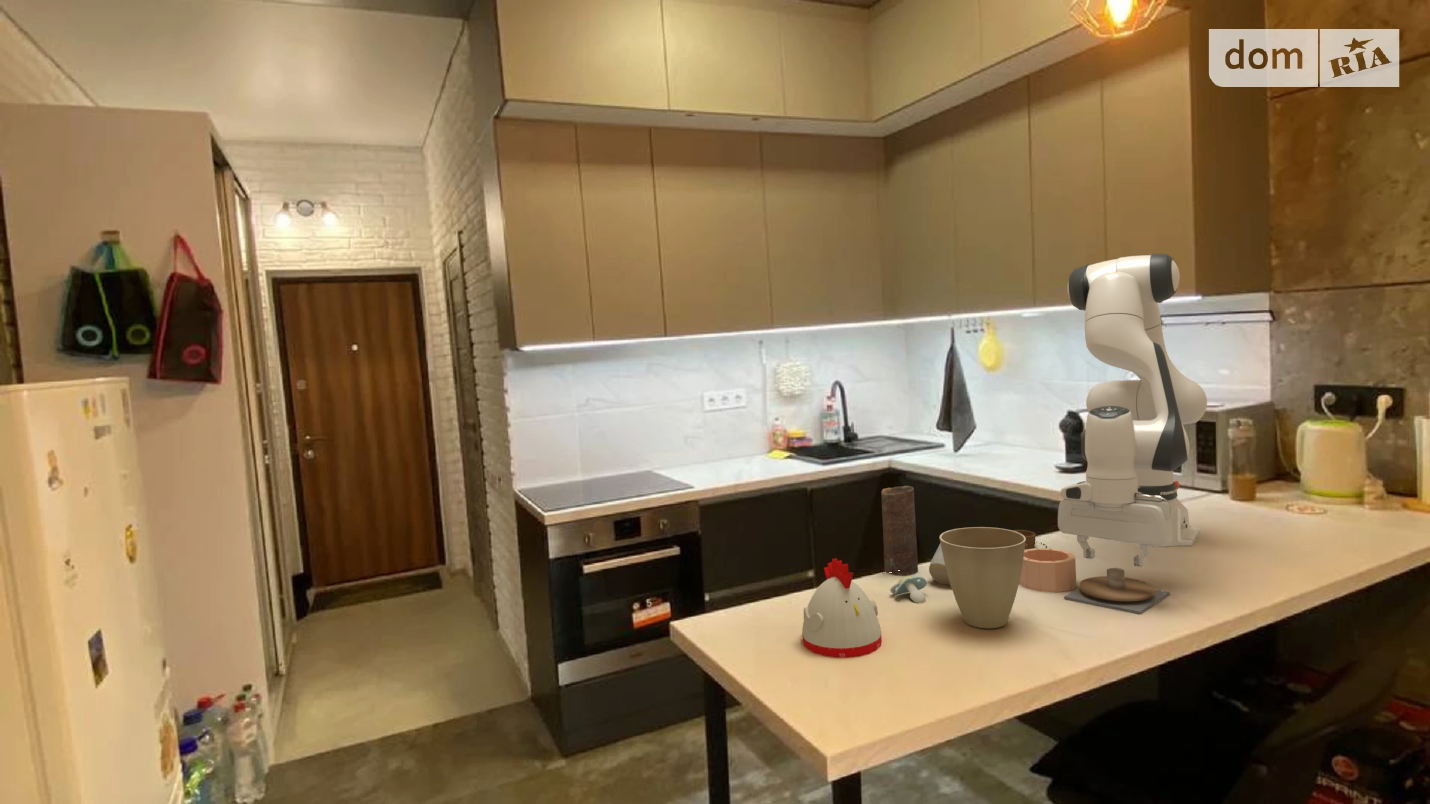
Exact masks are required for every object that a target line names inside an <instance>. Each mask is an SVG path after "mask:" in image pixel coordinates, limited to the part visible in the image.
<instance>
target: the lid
mask: <svg viewBox="0 0 1430 804" xmlns="http://www.w3.org/2000/svg"><path fill="white" fill-rule="evenodd" d="M1125 576H1126V575H1125V570H1124V569H1122V568H1121V567H1120V568H1117V567H1109V568H1107V569H1106V576H1102V575H1101V576H1094V577H1089V578H1085V579H1083V580H1081V581H1079V587H1078V588H1080V590H1081V591H1082V592H1083V593H1084V594H1086V595H1089V596H1092V597H1095V598H1099V599H1105V600H1112V601H1140V600H1146V599H1149V598H1151V597H1153V596H1154V595H1155V590H1156V589H1155V587H1154V586H1153V585H1152V584H1150V583H1148V582H1146V581H1144V580H1141V579H1136V578H1130V577H1125Z"/></svg>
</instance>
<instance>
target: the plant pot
mask: <svg viewBox="0 0 1430 804" xmlns="http://www.w3.org/2000/svg"><path fill="white" fill-rule="evenodd" d="M939 542H940V543H941V548H942V553H943V558H944V563H945V567H946V571H947V574H948V578H949V581H950V584H951V585H950V588H951V590H952V593H953V595H954V599H955V602H956V604H957V606H958V610H959V612H960V613H961V615H962V618H963V620H964V622H965V623H966V624H967V625H969V626H970V627H971V626H972V627H974V628H980V629H997V628H1001V627H1004V626H1006V624H1007V623H1008V620H1009V618H1010V615H1011V611H1012V609H1013V605H1014V603H1015V599H1016V598H1017V597H1016V596H1017V591H1018V588H1019V585H1020V584H1019V581H1020V576H1021V571H1022V565H1023V558H1024V550H1025V542H1026V538H1025V536H1024V535H1022V534H1020V533H1018V532H1015V531H1012V530H1011V529H1006V528H999V527H987V526H986V527H985V526H977V527H976V526H974V527H972V526H971V527H962V528H959V527H958V528H954V529H950V530H946V531H944V532H942V533H941V534H940V535H939ZM940 543H939V544H940Z"/></svg>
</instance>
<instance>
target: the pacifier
mask: <svg viewBox="0 0 1430 804" xmlns="http://www.w3.org/2000/svg"><path fill="white" fill-rule="evenodd" d="M927 584H928V583H927V580H926V579H925V578H924V577H923V576H919V575H917V576H911V575H907V576H904V577H902V578H901V579H899V580H898V582H897V583H895V584H894V585H892V586H891V588H890V589H889V591H890V593H891V594H895V595H901V594H905V593H909V598H910V599H911V600H912V601H913V602H915V603H917V604H923V603H924V604H925V602H926V601H927V600H926V596H925V594H924V593H923V592H922V591H921V590H922V589H923V588H925V587H926V586H927Z"/></svg>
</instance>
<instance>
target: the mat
mask: <svg viewBox="0 0 1430 804" xmlns="http://www.w3.org/2000/svg"><path fill="white" fill-rule="evenodd" d="M1170 595H1171V593H1170V591H1166V590H1159V589H1155V595H1154V596H1153V597H1151V598H1149V599H1146V600H1140V601H1112V600H1105V599H1099V598H1095V597H1092V596H1089V595H1086V594H1084V593H1083V592H1082V591H1081V590H1080V587H1078V588H1077V589H1075V590H1073V591H1072V592H1069V593H1068V594H1065V595H1064V596H1063V599H1064V600H1067V601H1072V602H1078V603H1082V604H1087V605H1092V606H1095V607H1096V606H1098V607H1103V608H1108V609H1112V610H1116V611H1117V610H1118V611H1122V612H1127V613H1132V614H1136V615H1137V614H1138V615H1142V614H1143V613H1145V612H1146V611H1147V610H1149V609H1151V608H1152V607H1154V606H1155V605H1156V604H1158V603H1159V602H1161V601H1163V600H1164V599H1166V598H1167V597H1169V596H1170Z"/></svg>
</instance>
